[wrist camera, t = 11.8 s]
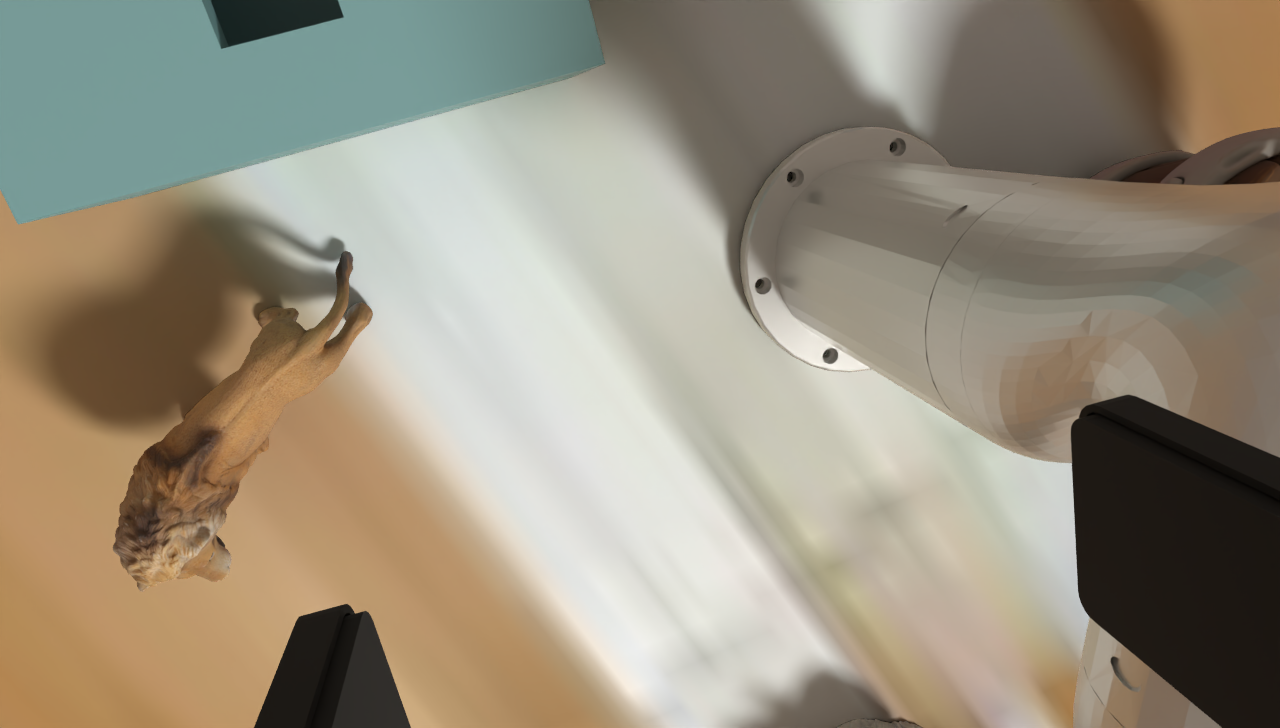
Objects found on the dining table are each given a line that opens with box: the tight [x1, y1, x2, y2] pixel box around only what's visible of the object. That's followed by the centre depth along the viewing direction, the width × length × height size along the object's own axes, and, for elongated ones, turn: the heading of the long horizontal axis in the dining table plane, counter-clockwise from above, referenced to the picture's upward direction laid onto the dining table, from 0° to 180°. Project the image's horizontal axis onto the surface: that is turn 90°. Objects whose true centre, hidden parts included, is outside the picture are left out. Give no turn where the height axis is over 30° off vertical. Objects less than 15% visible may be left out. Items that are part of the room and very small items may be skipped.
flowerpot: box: [1090, 127, 1280, 185], centre depth 38 cm, size 14×15×20 cm
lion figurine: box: [113, 251, 373, 591], centre depth 36 cm, size 15×5×9 cm, turn 147°
